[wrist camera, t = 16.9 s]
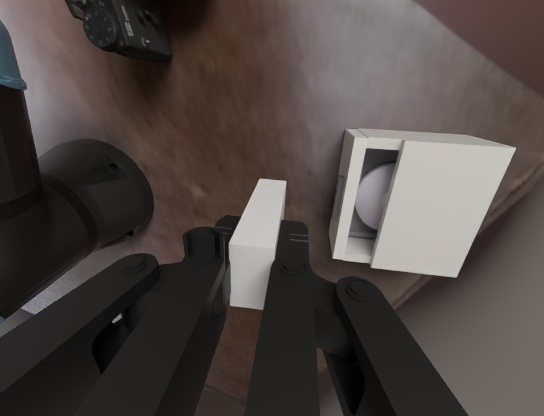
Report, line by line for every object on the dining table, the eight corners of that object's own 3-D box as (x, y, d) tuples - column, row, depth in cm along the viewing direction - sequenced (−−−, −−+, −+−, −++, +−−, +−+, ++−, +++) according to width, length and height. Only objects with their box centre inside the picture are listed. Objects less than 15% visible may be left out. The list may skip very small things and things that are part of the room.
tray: (324, 232, 34) (327, 257, 29) (340, 128, 28) (348, 136, 23) (417, 241, 33) (439, 270, 28) (454, 135, 27) (491, 146, 22)
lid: (414, 227, 30) (419, 234, 29) (347, 221, 31) (350, 227, 30) (435, 164, 27) (443, 168, 26) (360, 158, 28) (363, 162, 26)
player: (337, 233, 34) (343, 264, 28) (356, 128, 28) (370, 138, 22) (427, 242, 33) (456, 277, 27) (467, 135, 27) (516, 147, 21)
